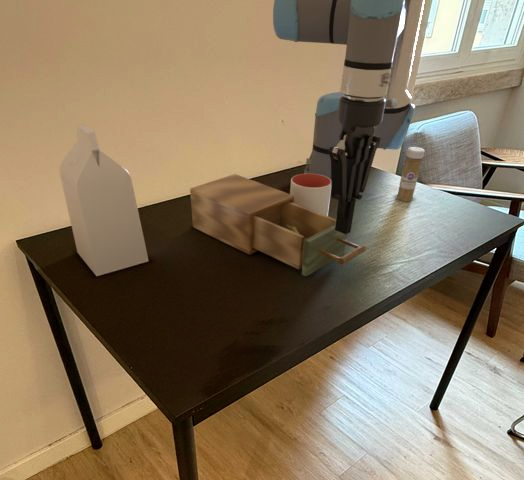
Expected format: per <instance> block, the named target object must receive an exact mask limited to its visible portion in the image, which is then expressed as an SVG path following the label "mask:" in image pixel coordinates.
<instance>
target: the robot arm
mask: <svg viewBox="0 0 524 480" xmlns="http://www.w3.org/2000/svg"><path fill="white" fill-rule="evenodd" d="M424 4H425V0H274V1H273V7H272V24H273V31H274V34H275V36H276V37H277V38H278V39H280V40H284V41H290V42H294V43H298V42H299V43H315V44H332V45H344V46H345V47H346V49H345V55H344V63H343V68H342V77H341V82H340V91H336V92H330V93H325V94H323V95H322V96H320V97H319V98H318V100H317V102H316V108H315V113H314V116H315V118H314V127H313V128H314V129H313V140H312V149H311V153H310V155H309V158H307V157H306V160H305V164H306V166H305V167H304V171H303V172H304V173H303V174H319V175H323V176H326V177H328V178H329V179H331V198H333V199H335V200H338V202H337V208H336V209H337V210H336V218H335V219H336V225H335V230H336V231H339V232H341V233H344V234H347V235H348V234H350V233H351V232H352V231H351V230H352V225H353V219H354V213H355V207H356V201H357V200H358V201H359V200H362V198H363V195H361V194H363V193H364V192H365V191H366V187H367V182H368V180H369V176H370V172H371V169H372V167H373V163H374V159H375V155H376V151H377V150H378V149H381V150H385V151H386V150H392V151H393V150H395V151H396V150H399V149H401V147H402V146H403V144H404V142H405V139H406V136H407V134H408V131H409V128H410V125H411V121H412V118H413V116H414V113H415V109H416V106H415V104H413V103H411V101H412V96H411V94H410V93H409V91H408V86H409V81H410V76H411V72H412V65H413V61H414V56H415V50H416V45H417V41H418V36H419V30H420V24H421V20H422V15H423V10H424ZM360 193H361V194H360Z"/></svg>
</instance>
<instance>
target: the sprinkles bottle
mask: <svg viewBox="0 0 524 480" xmlns="http://www.w3.org/2000/svg"><path fill="white" fill-rule="evenodd" d="M424 155H425V149H424V148H422V147H418V146H409V147H407V149H406V153H405V161H404V165H403V168H402V172H401V176H400V180H399V187H398V192H397V194H396V198H397V199H398V200H400V201H405V202H409V201H412V200H413V198H414V192H415V189H416V186H417V183H418V178H419V174H420V170H421V164H422V162H423V158H424V157H425V156H424Z"/></svg>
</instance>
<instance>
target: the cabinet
mask: <svg viewBox="0 0 524 480" xmlns="http://www.w3.org/2000/svg"><path fill="white" fill-rule="evenodd" d="M189 193H190V194H189V195H190V206H191V208H190V209H191V218H192V219H191V220H192V228H194V229H196V230H198V231H200V232H202V233H204V234H206V235H208V236H210V237H212V238H214V239H216V240H218V241H220V242H222V243H224V244H227V245H229V246H231V247H232V248H235V249H237V250H239V251H240V252H243V253H245V254H247V255H249V256H250V255H252V254H254V253H257V252H260V251H259V250H257V249H255V248H252V218H253V217H252V216H255V215H257V214H260V213H262V212H264V211H267V210H269V209H272V208H274V207H276V206H279V205H281V204H284V203H286V202H288V201H289V202H292V203H294V196H293V195H291V194H290V193H288V192H285V191H283V190H280V189H277V188H274V187H271V186H269V185H266V184H264V183H261V182H259V181H255V180H252V179H250V178H247V177H245V176H242V175H239V174H236V173H233V174H230V175H228V176H224V177H221V178H218V179H215V180H212V181H209V182H206V183H203V184H199V185H197V186H194V187H191V188H189Z"/></svg>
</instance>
